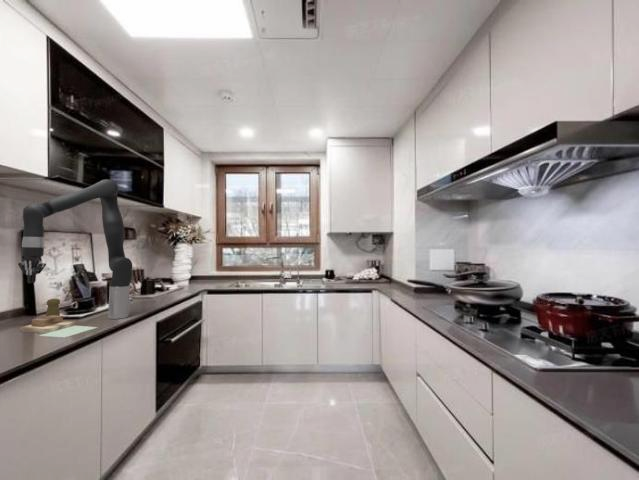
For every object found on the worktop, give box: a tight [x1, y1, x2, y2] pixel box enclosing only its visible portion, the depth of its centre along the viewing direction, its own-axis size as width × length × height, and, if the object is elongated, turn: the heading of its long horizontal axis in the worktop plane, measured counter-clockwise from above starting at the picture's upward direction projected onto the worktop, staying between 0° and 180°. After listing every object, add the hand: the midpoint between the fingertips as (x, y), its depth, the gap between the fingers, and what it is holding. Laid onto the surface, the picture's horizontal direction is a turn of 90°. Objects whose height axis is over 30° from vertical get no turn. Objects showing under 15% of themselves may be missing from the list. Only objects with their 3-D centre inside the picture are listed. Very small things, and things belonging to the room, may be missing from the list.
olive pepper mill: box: [45, 298, 61, 317], centre depth 150 cm, size 6×6×11 cm
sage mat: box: [38, 325, 99, 339], centre depth 131 cm, size 16×12×1 cm
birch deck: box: [20, 320, 77, 334], centre depth 136 cm, size 13×14×2 cm
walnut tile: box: [30, 315, 64, 327], centre depth 136 cm, size 9×6×3 cm, turn 173°
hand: (31, 282), depth 137 cm, fingers closed
